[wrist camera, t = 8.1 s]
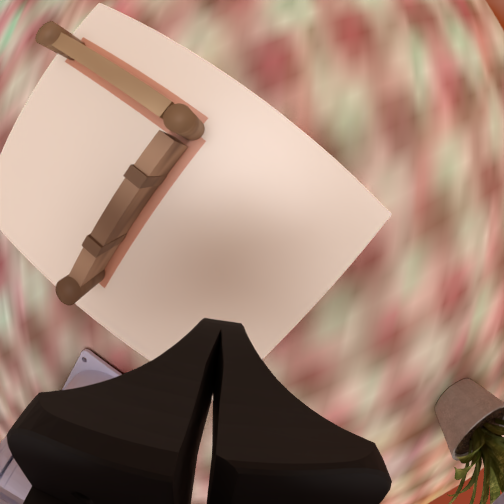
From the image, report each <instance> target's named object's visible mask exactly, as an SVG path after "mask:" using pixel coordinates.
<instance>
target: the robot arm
mask: <svg viewBox="0 0 504 504" xmlns="http://www.w3.org/2000/svg"><path fill="white" fill-rule="evenodd" d="M84 357H85V358H86V359H87V360H86V359H85V358H84ZM212 396H213V446H212V460H211V469H210V478H209V487H208V497H207V504H379V503H380V502H381V501H382V500H383V499H384V497H385V496H386V494H387V493H388V492H389V490H390V487H391V482H392V481H391V478H390V476H389V473H388V471H387V468H386V465H385V463H384V460H383V458H382V456H381V454H380V452H379V450H378V449H377V447H376V445H375V443H373V442H371V441H369V440H366V439H364V438H362V437H360V436H357V435H355V434H353V433H351V432H349V431H347V430H344V429H342V428H341V427H339V426H337V425H335V424H333V423H332V422H330V421H328V420H327V419H325V418H323V417H322V416H320V415H319V414H317V413H316V412H314V411H313V410H311V409H310V408H309V407H307V406H306V405H305V404H304V403H302V402H301V401H300V400H299V399H297V398H296V397H295V396H294V395H293V394H292V393H290V392H289V391H288V390H287V389H286V388H285V387H284V386H283V385H282V384H281V383H280V382H279V381H278V380H277V379H276V377H275V376H274V375H273V374H272V373H271V371H270V370H269V369H268V367H267V366H266V365H265V363H264V362H263V361H262V359H261V358H260V356H259V354H258V353H257V351H256V350H255V348H254V346H253V345H252V343H251V341H250V339H249V337H248V335H247V333H246V331H245V328H244V326H243V325H242V323H236V322H229V321H222V320H215V319H209V318H203V319H202V320H201V321H200V322H199V323H198V324H197V325H196V326H195V327H194V328H193V329H192V330H191V331H190V332H189V333H188V334H187V335H185V336H184V337H183V338H182V339H181V340H180V341H178V342H177V343H176V344H175V345H173V346H172V347H171V348H169V349H168V350H167V351H165V352H164V353H162V354H161V355H160V356H158V357H157V358H155V359H153V360H152V361H150V362H148V363H146V364H145V365H143V366H141V367H139V368H137V369H134V370H132V371H130V372H127V373H125V374H121V373H120V372H118V371H117V370H116V369H114V368H113V367H111V366H110V365H109V364H107V363H106V362H105V361H103V360H102V359H101V358H99V357H98V356H97V355H95V354H94V353H93V352H92V351H90V350H89V349H84V350H83V351H82V353H81V354H80V356H79V358H78V360H77V362H76V364H75V366H74V368H73V369H72V371H71V373H70V375H69V377H68V379H67V381H66V383H65V385H64V387H63V389H62V390H59V391H52V392H41V393H39V394H38V395H37V396H36V397H35V398H34V399H33V400H32V401H31V403H30V404H29V405H28V406H27V407H26V409H25V410H24V411H23V413H22V414H21V415H20V417H19V418H18V419H17V421H16V422H15V424H14V425H13V426H12V428H11V429H10V430H9V432H8V434H7V436H6V437H5V438H4V439H3V440H2V441H1V442H0V504H191V498H192V490H193V483H194V475H195V468H196V461H197V454H198V450H199V445H200V441H201V437H202V434H203V430H204V426H205V422H206V419H207V415H208V411H209V407H210V404H211V400H212ZM492 504H504V492H503V493H502V494H501V495H500V496H499V497H498V498H497V499H496V500H495V501H494V502H493V503H492Z"/></svg>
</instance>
